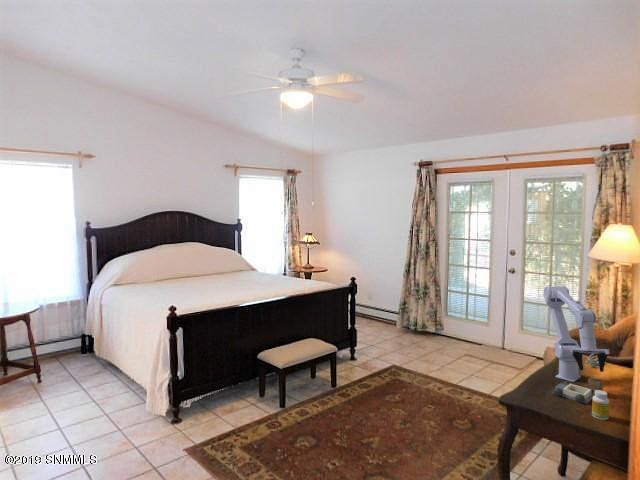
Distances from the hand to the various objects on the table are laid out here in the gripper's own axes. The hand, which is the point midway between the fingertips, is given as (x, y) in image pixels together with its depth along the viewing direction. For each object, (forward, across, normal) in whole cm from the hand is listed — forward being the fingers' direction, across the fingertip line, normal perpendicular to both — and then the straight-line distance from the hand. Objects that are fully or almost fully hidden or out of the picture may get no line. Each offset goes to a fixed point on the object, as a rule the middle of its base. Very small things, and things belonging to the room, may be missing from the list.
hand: (591, 370), depth 179 cm
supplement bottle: (+15, +6, -17) cm, 24 cm away
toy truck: (+10, -7, -5) cm, 13 cm away
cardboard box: (+10, -1, +5) cm, 11 cm away
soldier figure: (+1, -11, +41) cm, 43 cm away
